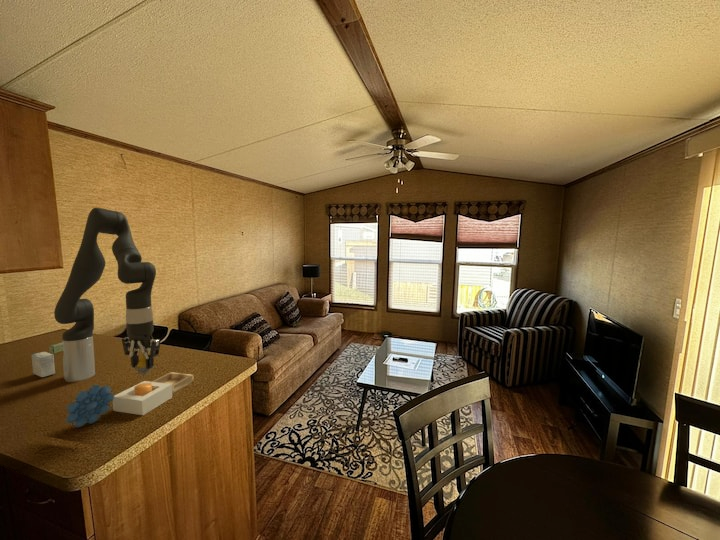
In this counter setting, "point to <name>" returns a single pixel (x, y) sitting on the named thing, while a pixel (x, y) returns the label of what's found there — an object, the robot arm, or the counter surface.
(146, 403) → the frame
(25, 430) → the counter surface
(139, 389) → the button
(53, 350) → the medication box
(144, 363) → the drill bit
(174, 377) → the tray
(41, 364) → the medicine box
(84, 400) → the grapes
